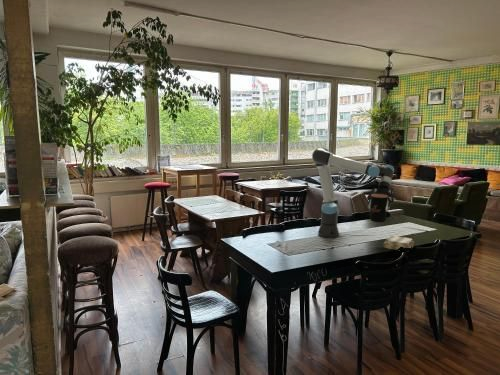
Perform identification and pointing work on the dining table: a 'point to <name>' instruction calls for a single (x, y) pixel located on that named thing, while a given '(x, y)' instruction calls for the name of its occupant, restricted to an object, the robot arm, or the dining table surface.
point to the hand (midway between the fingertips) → (377, 209)
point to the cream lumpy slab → (398, 242)
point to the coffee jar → (378, 207)
